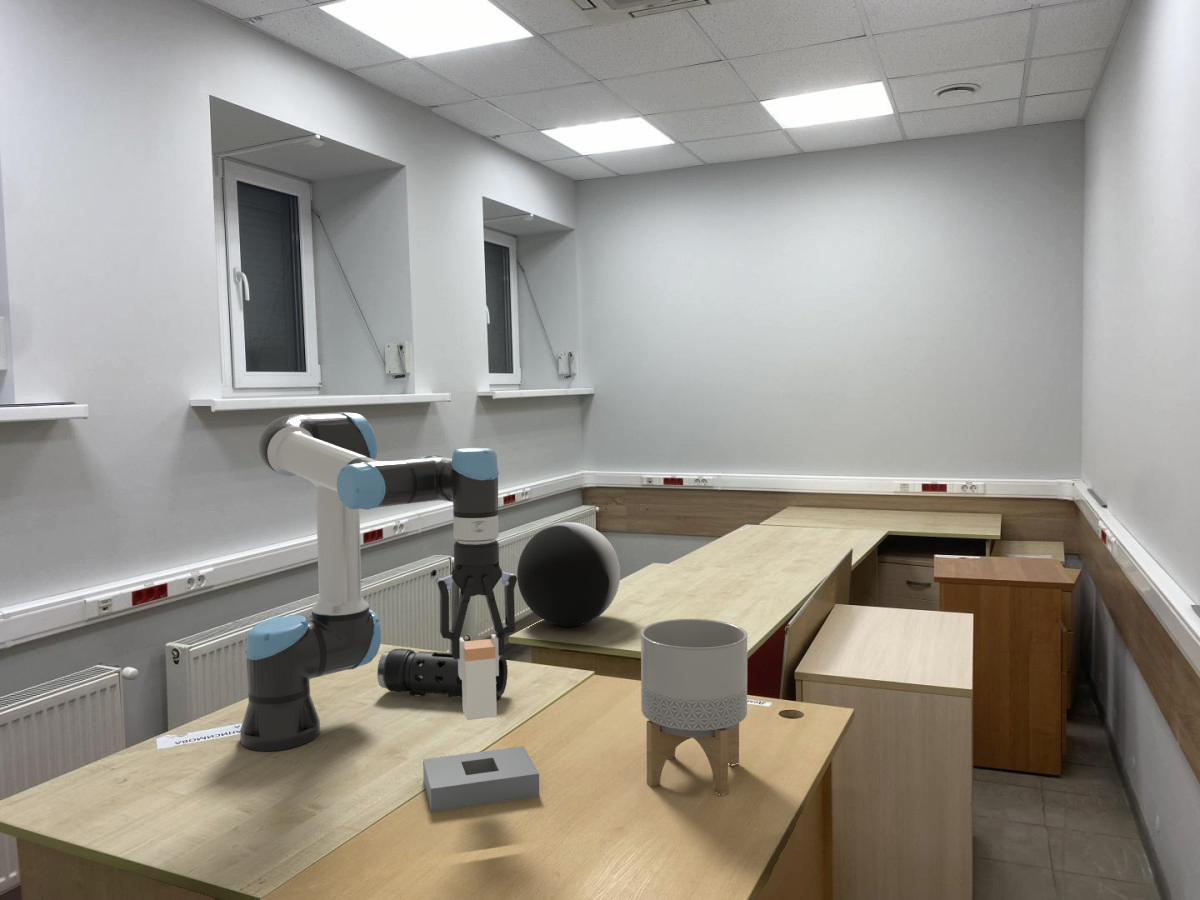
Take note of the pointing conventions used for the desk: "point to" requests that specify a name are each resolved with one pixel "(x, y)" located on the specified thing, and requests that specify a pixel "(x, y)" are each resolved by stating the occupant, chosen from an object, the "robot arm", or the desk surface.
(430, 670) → the muzzle brake
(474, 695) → the plug
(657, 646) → the planter
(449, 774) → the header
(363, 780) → the desk surface
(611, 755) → the desk surface
